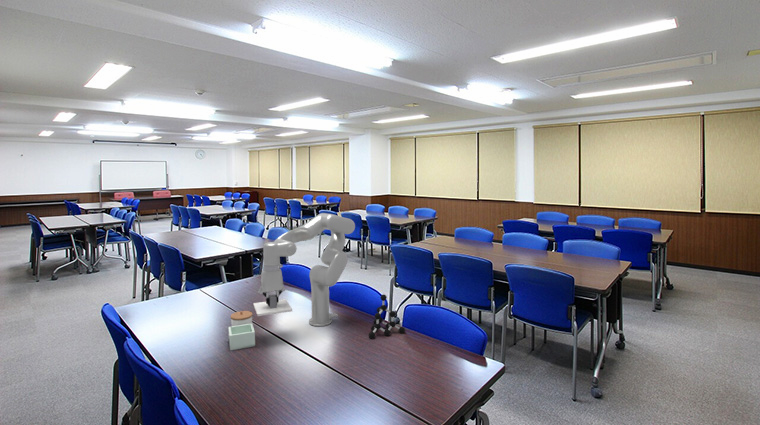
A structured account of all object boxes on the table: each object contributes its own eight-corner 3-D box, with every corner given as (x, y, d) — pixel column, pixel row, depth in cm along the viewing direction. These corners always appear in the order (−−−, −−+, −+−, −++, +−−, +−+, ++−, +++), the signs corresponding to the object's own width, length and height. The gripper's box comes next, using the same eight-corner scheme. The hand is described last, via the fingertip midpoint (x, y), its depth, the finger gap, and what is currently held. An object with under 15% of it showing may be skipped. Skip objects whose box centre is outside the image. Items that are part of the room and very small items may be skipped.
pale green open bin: (252, 336, 186) (252, 323, 185) (255, 346, 176) (254, 331, 175) (228, 340, 181) (228, 326, 181) (230, 350, 171) (229, 335, 171)
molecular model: (375, 323, 204) (375, 288, 202) (406, 332, 193) (406, 295, 191) (354, 334, 190) (354, 296, 188) (386, 345, 179) (386, 304, 176)
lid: (285, 300, 194) (285, 289, 193) (292, 311, 179) (292, 299, 179) (253, 305, 187) (253, 293, 186) (257, 316, 172) (257, 303, 172)
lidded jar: (245, 334, 189) (245, 316, 188) (226, 332, 191) (226, 314, 190) (256, 325, 200) (256, 308, 199) (238, 323, 202) (238, 307, 201)
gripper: (287, 264, 188) (287, 300, 190) (253, 267, 181) (254, 304, 183) (290, 268, 181) (290, 304, 183) (255, 271, 174) (255, 309, 176)
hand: (272, 304), depth 183 cm, fingers closed on lid, 3 cm apart
